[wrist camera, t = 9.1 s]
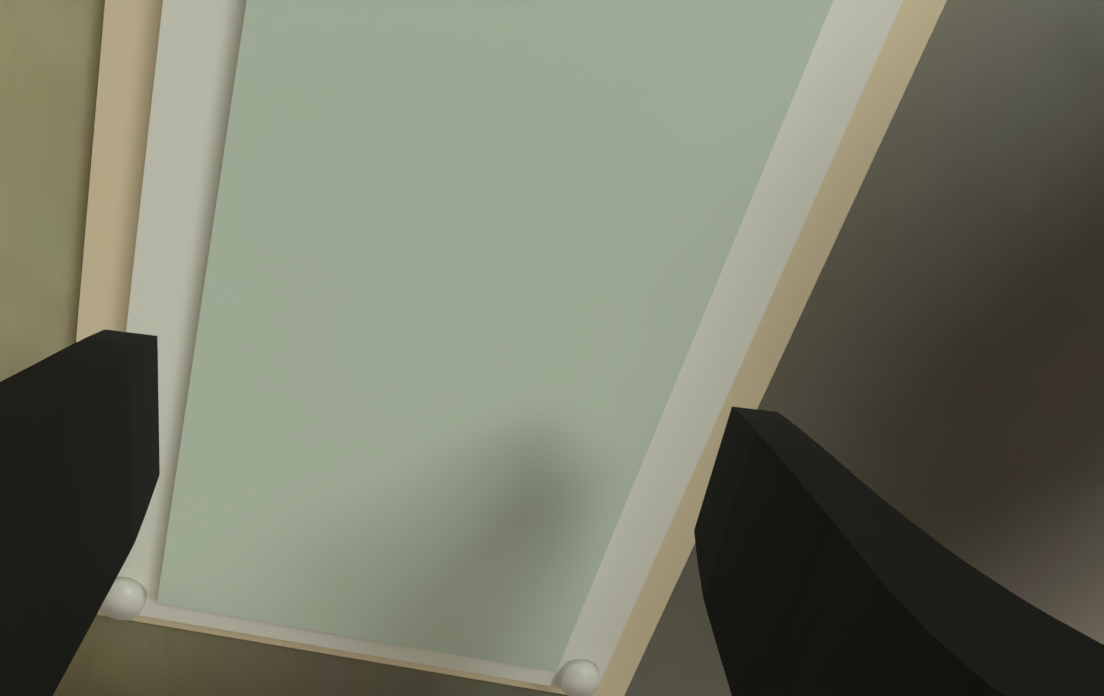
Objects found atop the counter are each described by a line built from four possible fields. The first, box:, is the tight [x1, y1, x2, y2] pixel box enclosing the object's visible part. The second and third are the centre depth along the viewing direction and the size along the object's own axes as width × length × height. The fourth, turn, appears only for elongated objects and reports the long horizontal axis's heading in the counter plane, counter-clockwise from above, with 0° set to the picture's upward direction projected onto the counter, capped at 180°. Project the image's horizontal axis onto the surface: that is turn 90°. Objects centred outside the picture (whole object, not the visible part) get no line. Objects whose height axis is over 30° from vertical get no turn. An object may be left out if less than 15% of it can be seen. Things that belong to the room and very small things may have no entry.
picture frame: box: [76, 0, 947, 696], centre depth 16 cm, size 12×18×2 cm, turn 163°
